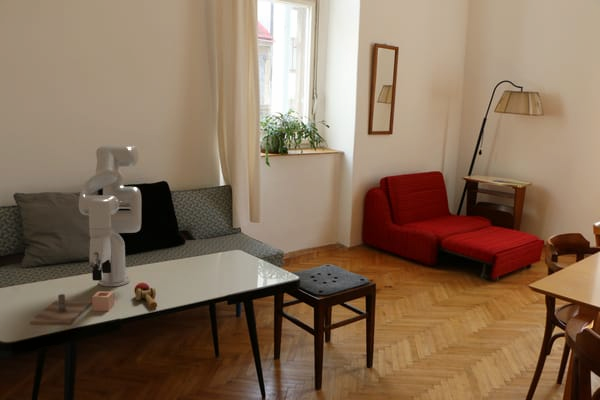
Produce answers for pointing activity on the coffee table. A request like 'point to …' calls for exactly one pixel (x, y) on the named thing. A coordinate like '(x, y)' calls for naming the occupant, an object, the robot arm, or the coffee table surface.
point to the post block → (61, 312)
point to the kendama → (146, 294)
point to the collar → (103, 301)
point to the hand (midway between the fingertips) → (102, 276)
